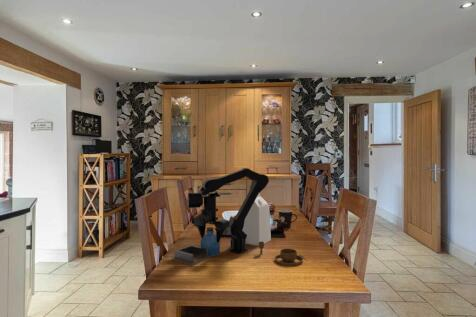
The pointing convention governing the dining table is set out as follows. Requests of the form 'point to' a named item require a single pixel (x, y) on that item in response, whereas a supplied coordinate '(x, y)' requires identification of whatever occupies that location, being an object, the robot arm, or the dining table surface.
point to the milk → (258, 223)
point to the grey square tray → (191, 255)
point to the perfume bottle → (210, 242)
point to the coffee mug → (286, 218)
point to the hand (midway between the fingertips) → (210, 240)
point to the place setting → (286, 256)
